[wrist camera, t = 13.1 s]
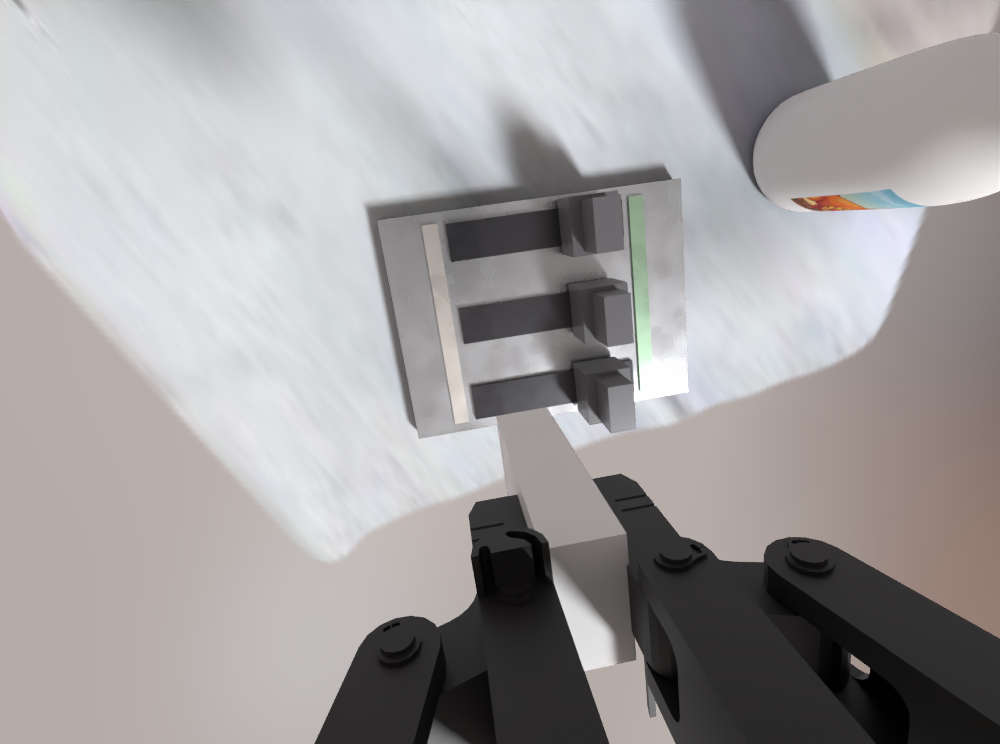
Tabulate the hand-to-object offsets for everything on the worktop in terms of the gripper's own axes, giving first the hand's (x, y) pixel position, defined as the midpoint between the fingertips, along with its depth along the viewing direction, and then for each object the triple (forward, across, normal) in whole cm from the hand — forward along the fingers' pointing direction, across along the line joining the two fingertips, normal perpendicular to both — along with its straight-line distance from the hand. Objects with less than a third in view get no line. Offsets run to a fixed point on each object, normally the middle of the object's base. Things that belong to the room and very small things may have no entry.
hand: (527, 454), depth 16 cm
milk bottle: (+23, +24, +8) cm, 34 cm away
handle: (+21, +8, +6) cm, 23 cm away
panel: (+22, +5, 0) cm, 23 cm away
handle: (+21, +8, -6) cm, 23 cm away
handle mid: (+21, +8, 0) cm, 22 cm away
